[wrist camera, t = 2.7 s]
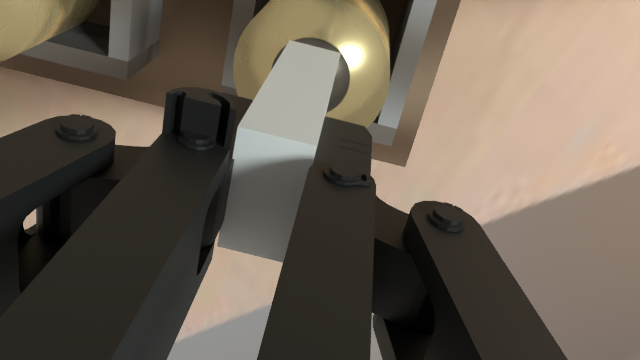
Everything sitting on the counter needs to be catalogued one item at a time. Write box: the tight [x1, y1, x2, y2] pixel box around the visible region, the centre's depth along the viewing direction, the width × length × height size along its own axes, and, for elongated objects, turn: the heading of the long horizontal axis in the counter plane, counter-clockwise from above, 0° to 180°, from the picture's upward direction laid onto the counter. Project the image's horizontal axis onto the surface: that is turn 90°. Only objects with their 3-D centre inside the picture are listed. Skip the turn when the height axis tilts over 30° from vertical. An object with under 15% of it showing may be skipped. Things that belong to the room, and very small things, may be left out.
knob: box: [233, 0, 390, 129], centre depth 20 cm, size 5×5×5 cm
